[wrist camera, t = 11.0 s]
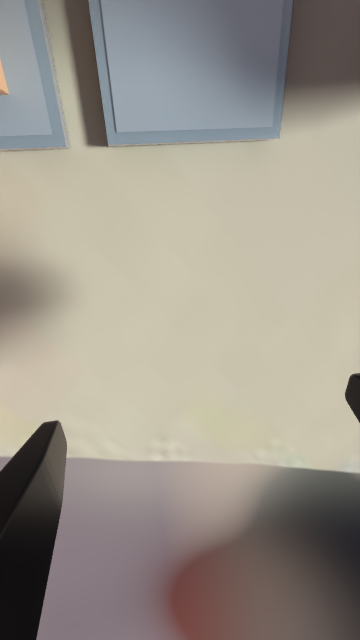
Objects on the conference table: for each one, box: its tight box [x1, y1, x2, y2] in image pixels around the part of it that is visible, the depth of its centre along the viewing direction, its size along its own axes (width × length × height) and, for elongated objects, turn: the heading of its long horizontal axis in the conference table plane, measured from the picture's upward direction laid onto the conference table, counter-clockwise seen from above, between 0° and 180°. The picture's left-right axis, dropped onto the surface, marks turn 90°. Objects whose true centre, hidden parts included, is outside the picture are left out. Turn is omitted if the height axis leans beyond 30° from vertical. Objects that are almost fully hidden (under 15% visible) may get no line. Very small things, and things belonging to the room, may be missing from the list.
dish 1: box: [88, 0, 293, 147], centre depth 13 cm, size 9×9×1 cm
